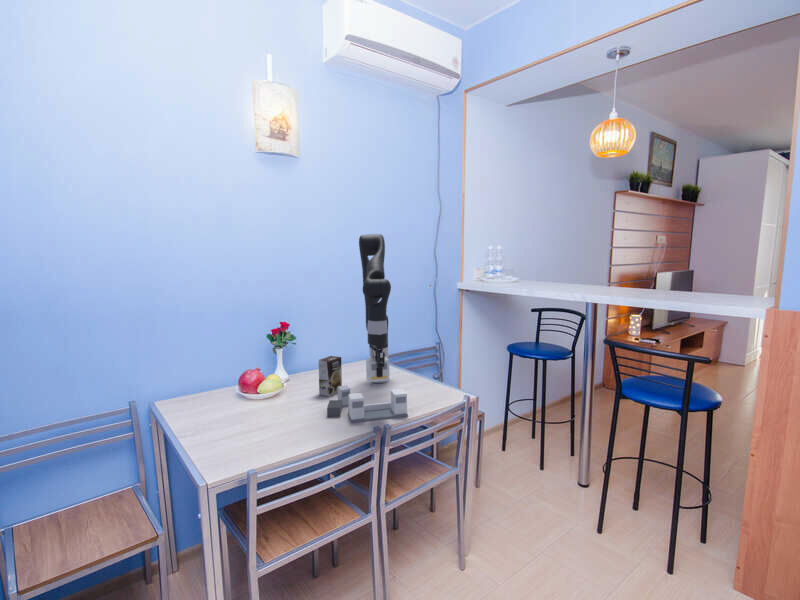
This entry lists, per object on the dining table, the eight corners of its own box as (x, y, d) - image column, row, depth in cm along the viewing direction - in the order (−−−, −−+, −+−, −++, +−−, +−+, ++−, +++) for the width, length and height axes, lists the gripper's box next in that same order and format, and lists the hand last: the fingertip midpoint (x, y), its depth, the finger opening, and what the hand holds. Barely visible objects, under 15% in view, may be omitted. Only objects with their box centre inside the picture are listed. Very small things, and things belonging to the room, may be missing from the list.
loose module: (366, 378, 162) (366, 358, 161) (386, 376, 164) (386, 356, 163) (369, 382, 157) (368, 362, 156) (389, 380, 159) (389, 360, 158)
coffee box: (330, 397, 184) (329, 361, 182) (318, 394, 187) (317, 359, 185) (342, 390, 192) (341, 356, 190) (331, 388, 195) (330, 355, 193)
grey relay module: (337, 402, 177) (337, 386, 176) (346, 400, 179) (346, 385, 178) (341, 406, 173) (341, 390, 172) (350, 404, 174) (350, 388, 173)
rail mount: (348, 413, 165) (347, 392, 164) (401, 407, 171) (401, 387, 170) (351, 422, 156) (351, 400, 155) (407, 416, 162) (407, 394, 161)
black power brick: (329, 409, 170) (329, 400, 169) (342, 409, 170) (341, 400, 170) (327, 417, 162) (327, 407, 161) (340, 417, 162) (339, 407, 162)
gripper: (364, 328, 164) (364, 370, 166) (371, 335, 150) (372, 381, 152) (382, 327, 166) (383, 368, 168) (391, 334, 152) (392, 379, 154)
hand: (377, 374), depth 160 cm, fingers closed on loose module, 5 cm apart
